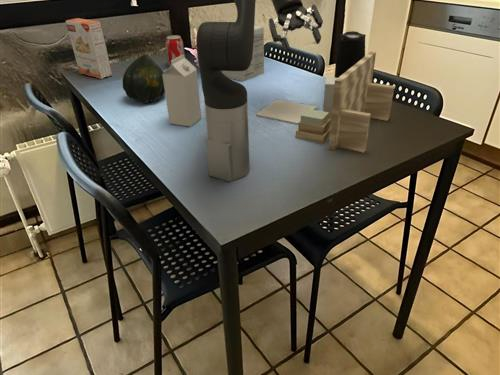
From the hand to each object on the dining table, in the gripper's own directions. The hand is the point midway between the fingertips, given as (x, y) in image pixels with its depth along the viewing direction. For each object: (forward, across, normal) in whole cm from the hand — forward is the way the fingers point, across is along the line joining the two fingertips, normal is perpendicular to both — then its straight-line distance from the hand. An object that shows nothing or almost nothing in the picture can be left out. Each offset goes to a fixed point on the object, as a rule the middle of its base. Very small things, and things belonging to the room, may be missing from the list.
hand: (304, 47), depth 110 cm
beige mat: (+11, -8, +16) cm, 21 cm away
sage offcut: (+21, -4, 0) cm, 21 cm away
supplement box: (-18, -14, +46) cm, 51 cm away
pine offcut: (+24, -6, +4) cm, 25 cm away
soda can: (-34, -38, +55) cm, 75 cm away
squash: (-12, -49, +28) cm, 58 cm away
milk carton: (+5, -38, +13) cm, 40 cm away
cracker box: (-38, -70, +48) cm, 93 cm away
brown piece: (+27, +8, +5) cm, 28 cm away
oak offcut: (+22, -5, +2) cm, 23 cm away
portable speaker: (+9, +15, +27) cm, 32 cm away
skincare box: (+19, +2, +11) cm, 22 cm away
